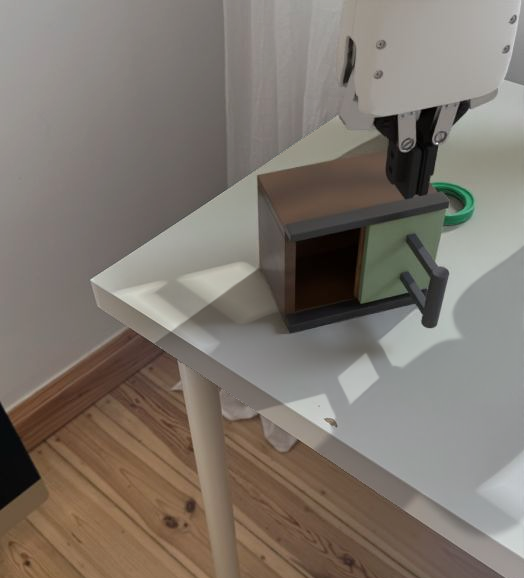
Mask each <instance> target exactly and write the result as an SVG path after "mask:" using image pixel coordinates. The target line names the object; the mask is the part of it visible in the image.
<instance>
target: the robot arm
mask: <svg viewBox="0 0 524 578" xmlns="http://www.w3.org/2000/svg"><path fill="white" fill-rule="evenodd" d="M521 6H522V0H342V7H341V15H340V19H339V20H340V21H339V29H338V36H337V37H338V38H337V46H336V57H335V77H336V81H337V83H338V85H339V86H340V88H345V91H344V95H343V98H342V102H341V105H340V108H339V112H338V118H339V120H340V121H341V123H342V124H343V126H344V127H345V128H346V129H347V130H348V131H365V132H366V131H370V132H371V131H372V130H375V131H376V130H377V132H379V134H381V135H382V136H383V137H385V138H386V139H387V140H388V142H387V149H388V150H387V159H386V169H385V171H386V176H387V179H388V180H389V182H390V183H391V184H392V185H393V184H394V185H395V186H396V188H397V189H398V190H399V192H400V193H401V195H402V196H403V197H404V199H410V198H413V197H414V196H415V195H418V196H424V195H427V194H428V189H429V183H430V182H431V177H432V176H434V173H435V170H436V163H437V156H438V151H439V146H441V145H443V144H445V143H446V142H447V140H448V138H449V136H450V133H451V131H452V128H453V126H454V125H456V124H457V122H458V121H460V119H462V118H463V117H464V115H465V114H466V113H467V112H468V111H469V109H470V110H473V109H475V108H477V107H481V106H482V105H484V104H487V103H489V102H491V101H493V100H494V99H496V97H497V95H498V93H499V88H500V87H501V85H502V84H503V82H504V80H505V79H506V75H507V73H508V70H509V67H510V63H511V60H512V55H513V51H514V46H515V41H516V36H517V32H518V27H519V19H520V13H521V8H522V7H521ZM416 110H417V111H416Z"/></svg>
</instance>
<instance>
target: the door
mask: <svg viewBox="0 0 524 578" xmlns="http://www.w3.org/2000/svg"><path fill="white" fill-rule="evenodd" d="M445 214H447V209H443V210H438V211H434V212H429V213H425V214H420V215H415V216H411V217H406V218H401V219H397V220H392V221H388V222H383V223H378V224H374V225H369V226H366V232H365V241H364V250H363V259H362V268H361V277H360V286H359V295H358V300H359V302H360V303H361V304H362V303H367V302H371V301H375V300H379V299H383V298H388V297H392V296H396V295H400V294H405V293H409V294H410V296H411V298H412V299H413V301H414V302H415V303H414V304H415V306H416V308H417V309H418V310H419V311H420V313H421V320H420V324H421V325H422V326H423V327H424V328H425V329H435V328H436V327H437V326H438V323H439V319H440V315H441V310H442V306H443V302H444V297H445V293H446V289H447V285H448V281H449V277H450V271H449V269H448V268H446V267H445V266H440V265H438V263H437V262H436V260H437V255H438V250H439V245H440V241H441V236H442V232H443V228H444V225H443V223H444V218H445ZM426 288H428V291H427V296H426V297H425V296H424V294H423V293H422V291H421V289H426Z"/></svg>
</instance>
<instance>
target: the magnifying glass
mask: <svg viewBox="0 0 524 578" xmlns="http://www.w3.org/2000/svg"><path fill="white" fill-rule="evenodd" d="M430 183H431V184H432V186H433V187H434V188H435V190H436V191H437V192H440V191H442V192H443V193H444V194H448V195H452V196H454V197H456V198H457V199H459V200H460V201H461V202H462V204H463V206H464V208H463V209H462V210H460V211H457V212H455V213H454V212H453V213H445V218H444V223H443V226H451V225H458V224H461V223H464V222H466V221H468V220H469V219H470V218H472V216H473V214H474V212H475V208H476V203H477V202H476V198H475V196H474V194H473V193H472V192H471V191H470V190H469V189H468V188H466V187H464V186H462V185H459V184H456V183H453V182H448V181H430Z"/></svg>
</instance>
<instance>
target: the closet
mask: <svg viewBox="0 0 524 578" xmlns="http://www.w3.org/2000/svg"><path fill="white" fill-rule="evenodd" d="M387 150H388V148H387V149H381V150H376V151H370V152H366V153H361V154H356V155H351V156H345V157H340V158H335V159H331V160H326V161H320V162H316V163H315V162H314V163H310V164H306V165H301V166H295V167H290V168H285V169H280V170H275V171H269V172H265V173H260V174H257V175H256V189H257V191H256V193H257V223H258V224H257V226H258V258H259V259H258V261H259V268H260V271H261V273H262V276H263V278H264V281H265V282H266V285H267V286H268V288H269V291H270V293H271V295H272V298H273V300H274V302H275V304H276V306H277V308H278V311H279V313H280V315H281V317H282V319H283V322H284V324H285V326H286V329H287V331H288V333H289V334H293V333H298V332H300V331H305V330H310V329H313V328H317V327H322V326H327V325H330V324H334V323H338V322H339V323H340V322H341V321H347V320H351V319H354V318H355V319H356V318H359V317H364V316H367V315H372V314H375V313H380V312H384V311H388V310H393V309H397V308H400V307H405V306H409V305H412V304H415V302H414V301H413V299H412V298H411V296H410V294H409V293H405V294H400V295H396V296H392V297H388V298H383V299H379V300H375V301H371V302H367V303H362V304H361V303H360V302H359V300H358V295H359V286H360V277H361V268H362V259H363V250H364V241H365V232H366V226H369V225H374V224H378V223H383V222H388V221H392V220H397V219H401V218H406V217H411V216H415V215H420V214H425V213H429V212H434V211H438V210H443V209H446V210H447V209H449V208H450V203H451V200H450V199H449V198H448V196H447V195H446V193H444V192H442V191H440V192H437V191H436V190H435V188H434V187H433V186H432V184H431V183H429V189H428V194H427V195H424V196H418V195H415V196H414V197H413V198H410V199H404V197H403V196H402V195H401V193H400V192H399V190H398V189H397V188H396V186H395V185H394V184H393V185H392V184H391V183H390V182H389V180H388V179H387V176H386V171H385V169H386V159H387ZM421 291H422V293H423V294H424V296H425V297H426V296H427V291H428V288H426V289H421Z"/></svg>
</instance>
